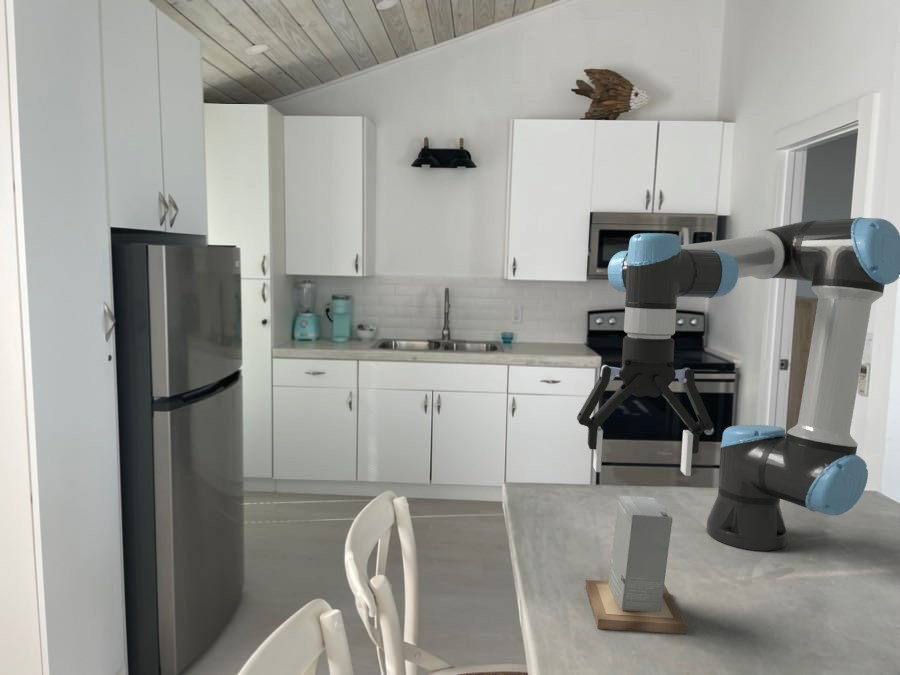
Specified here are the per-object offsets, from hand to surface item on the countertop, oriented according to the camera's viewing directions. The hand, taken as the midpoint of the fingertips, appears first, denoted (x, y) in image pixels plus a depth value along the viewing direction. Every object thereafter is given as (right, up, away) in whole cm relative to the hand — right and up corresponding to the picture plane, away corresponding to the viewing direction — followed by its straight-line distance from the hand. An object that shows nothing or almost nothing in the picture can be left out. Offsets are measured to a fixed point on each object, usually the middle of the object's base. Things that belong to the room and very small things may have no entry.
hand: (641, 471), depth 106 cm
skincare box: (0, -21, +2) cm, 21 cm away
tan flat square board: (-1, -22, +2) cm, 23 cm away
